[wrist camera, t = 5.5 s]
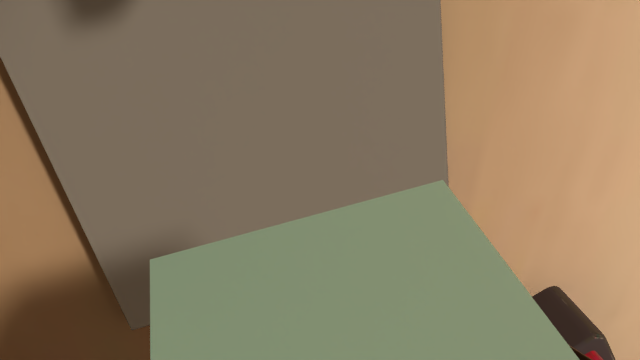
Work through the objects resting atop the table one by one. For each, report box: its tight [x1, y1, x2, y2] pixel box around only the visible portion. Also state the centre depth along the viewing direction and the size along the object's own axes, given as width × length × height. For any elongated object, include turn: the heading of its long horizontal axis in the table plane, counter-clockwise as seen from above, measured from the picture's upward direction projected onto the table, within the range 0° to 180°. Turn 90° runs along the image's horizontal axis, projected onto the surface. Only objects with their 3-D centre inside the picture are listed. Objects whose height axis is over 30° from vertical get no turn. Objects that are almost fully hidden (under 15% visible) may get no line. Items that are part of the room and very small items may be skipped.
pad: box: [0, 0, 448, 330], centre depth 16 cm, size 10×10×1 cm
